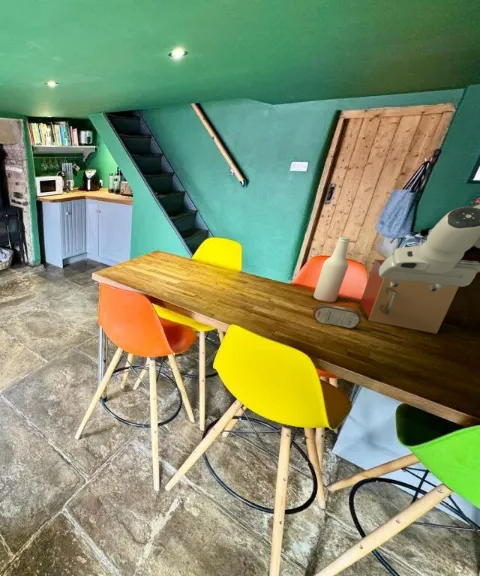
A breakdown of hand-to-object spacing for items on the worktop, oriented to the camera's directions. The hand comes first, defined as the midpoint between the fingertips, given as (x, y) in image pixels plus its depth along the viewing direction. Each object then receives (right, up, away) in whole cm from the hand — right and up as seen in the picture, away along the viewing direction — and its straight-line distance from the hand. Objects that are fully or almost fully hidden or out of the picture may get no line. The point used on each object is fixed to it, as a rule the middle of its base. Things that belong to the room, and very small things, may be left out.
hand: (412, 287), depth 98 cm
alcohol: (+5, -6, +44) cm, 45 cm away
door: (+15, -16, +17) cm, 28 cm away
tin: (-10, -15, +21) cm, 28 cm away
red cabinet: (+20, -13, +27) cm, 36 cm away
